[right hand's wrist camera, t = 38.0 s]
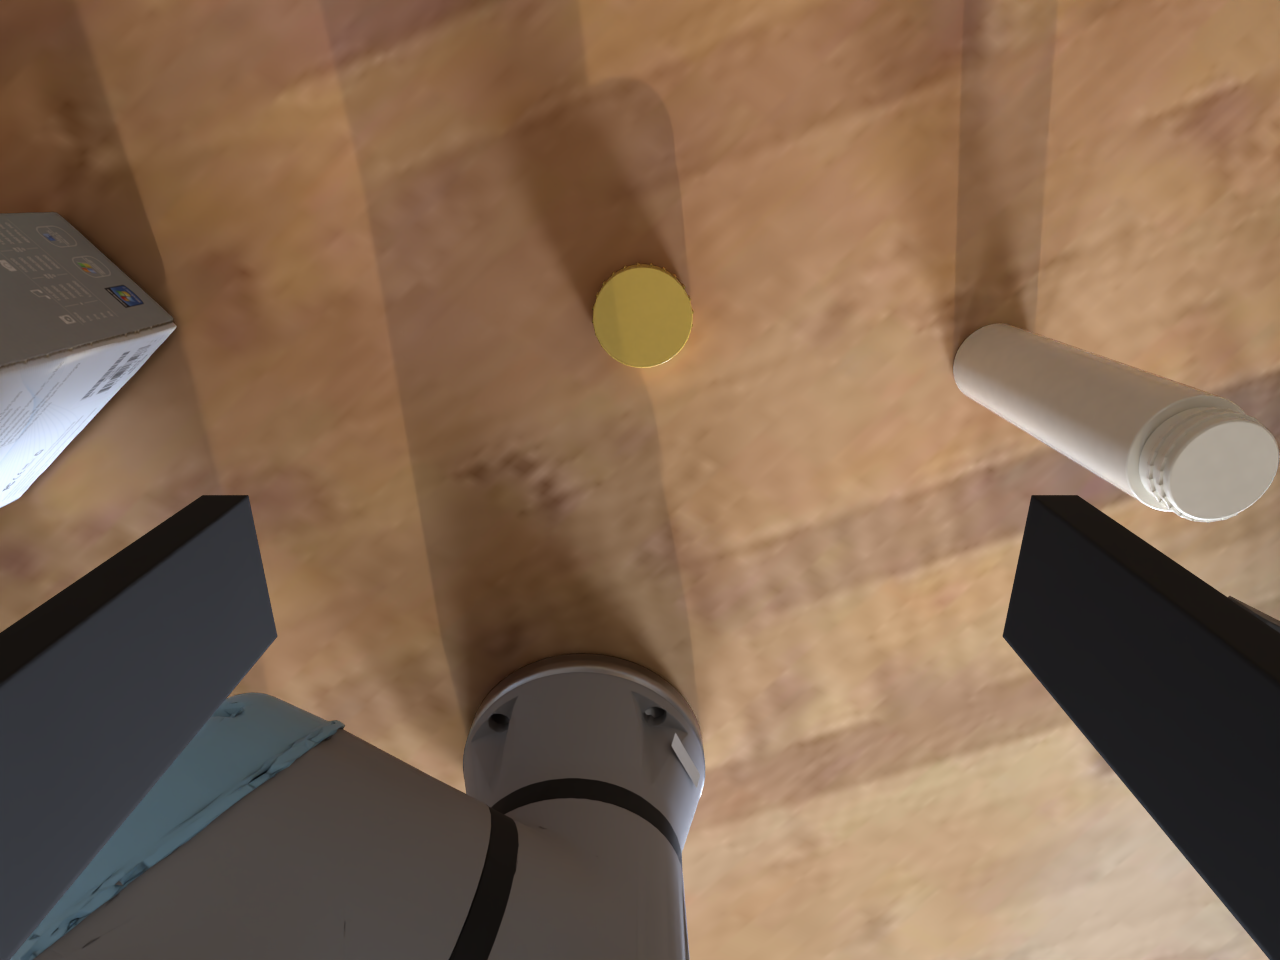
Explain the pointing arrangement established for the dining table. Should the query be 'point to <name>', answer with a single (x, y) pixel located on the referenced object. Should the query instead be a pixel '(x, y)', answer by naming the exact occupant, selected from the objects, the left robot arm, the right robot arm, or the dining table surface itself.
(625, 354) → the lid
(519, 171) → the dining table surface
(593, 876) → the right robot arm
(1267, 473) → the white cylindrical bottle
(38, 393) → the hard drive box
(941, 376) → the dining table surface
